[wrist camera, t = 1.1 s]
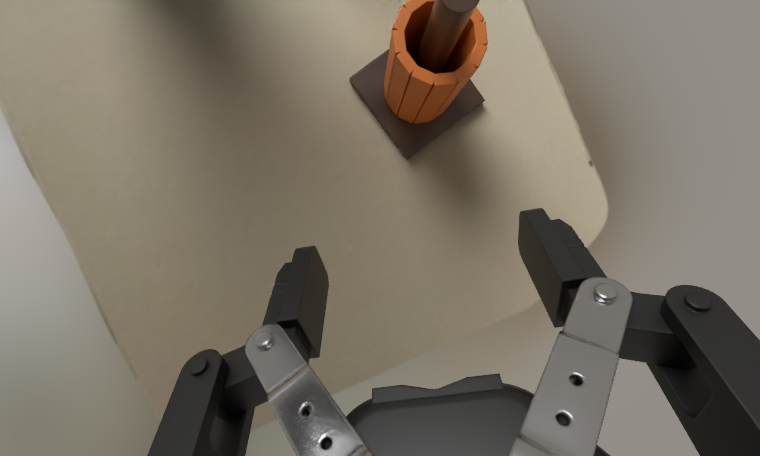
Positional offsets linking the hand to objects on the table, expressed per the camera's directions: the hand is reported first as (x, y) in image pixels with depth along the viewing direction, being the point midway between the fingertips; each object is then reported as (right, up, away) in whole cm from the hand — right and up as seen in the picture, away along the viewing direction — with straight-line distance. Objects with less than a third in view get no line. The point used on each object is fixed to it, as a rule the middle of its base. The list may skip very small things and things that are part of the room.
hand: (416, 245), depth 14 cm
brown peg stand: (+2, +14, +19) cm, 24 cm away
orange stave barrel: (+2, +13, +19) cm, 23 cm away
